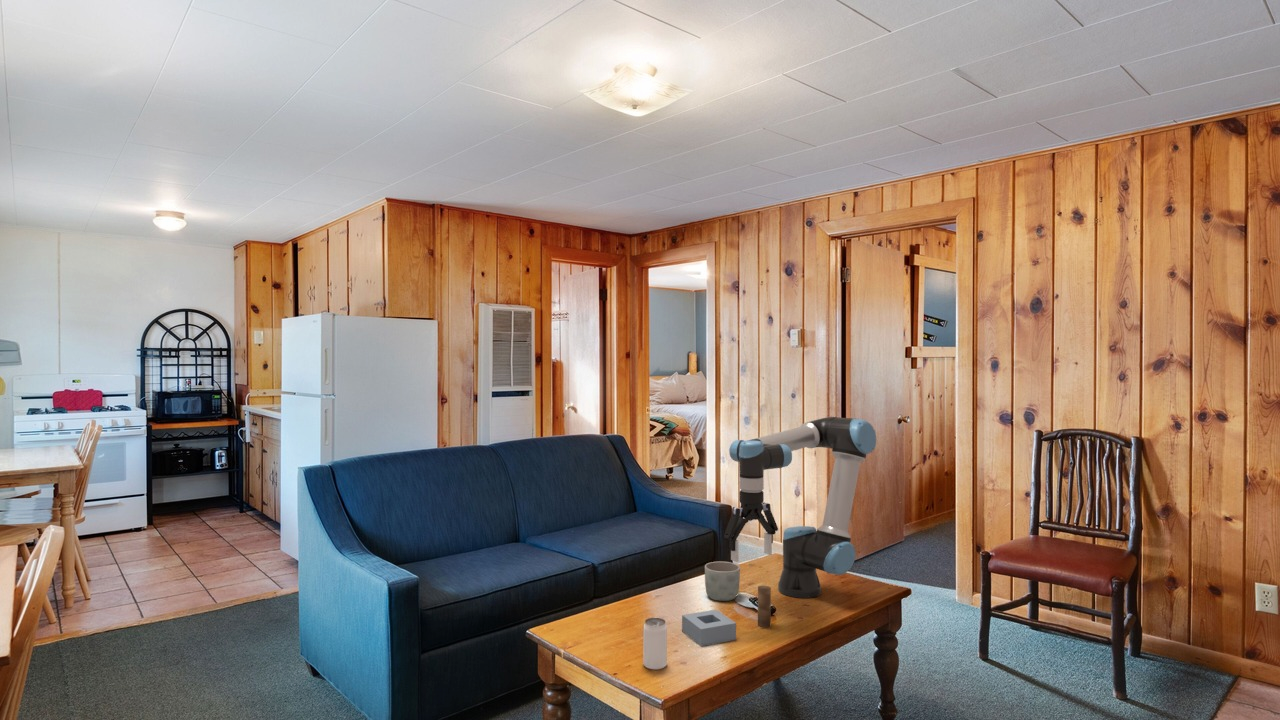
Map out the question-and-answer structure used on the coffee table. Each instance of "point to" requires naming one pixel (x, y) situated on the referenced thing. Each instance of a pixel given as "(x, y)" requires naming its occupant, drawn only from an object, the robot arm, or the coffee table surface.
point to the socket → (708, 627)
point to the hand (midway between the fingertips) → (751, 557)
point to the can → (655, 644)
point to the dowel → (764, 606)
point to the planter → (722, 580)
